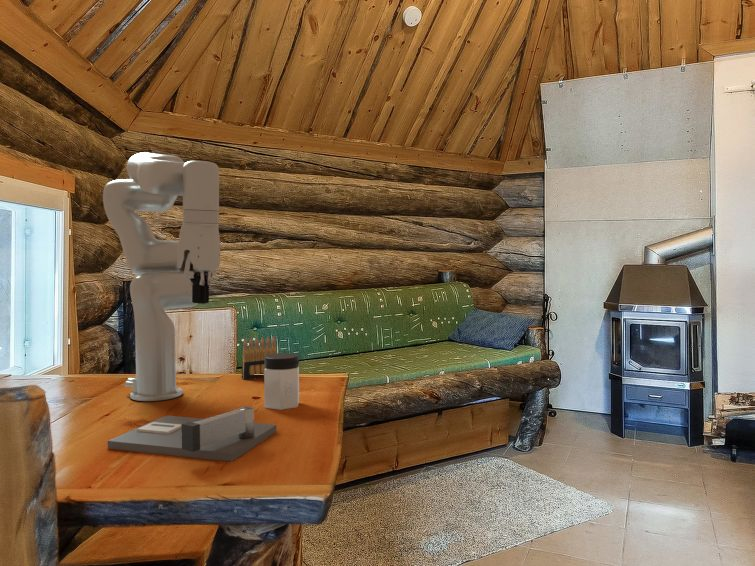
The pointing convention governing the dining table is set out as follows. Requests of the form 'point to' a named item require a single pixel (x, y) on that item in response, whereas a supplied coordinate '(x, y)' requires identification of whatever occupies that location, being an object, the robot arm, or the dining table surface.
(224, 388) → the dining table surface
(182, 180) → the robot arm
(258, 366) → the ammunition clip
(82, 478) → the dining table surface
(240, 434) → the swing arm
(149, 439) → the label board
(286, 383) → the jar
